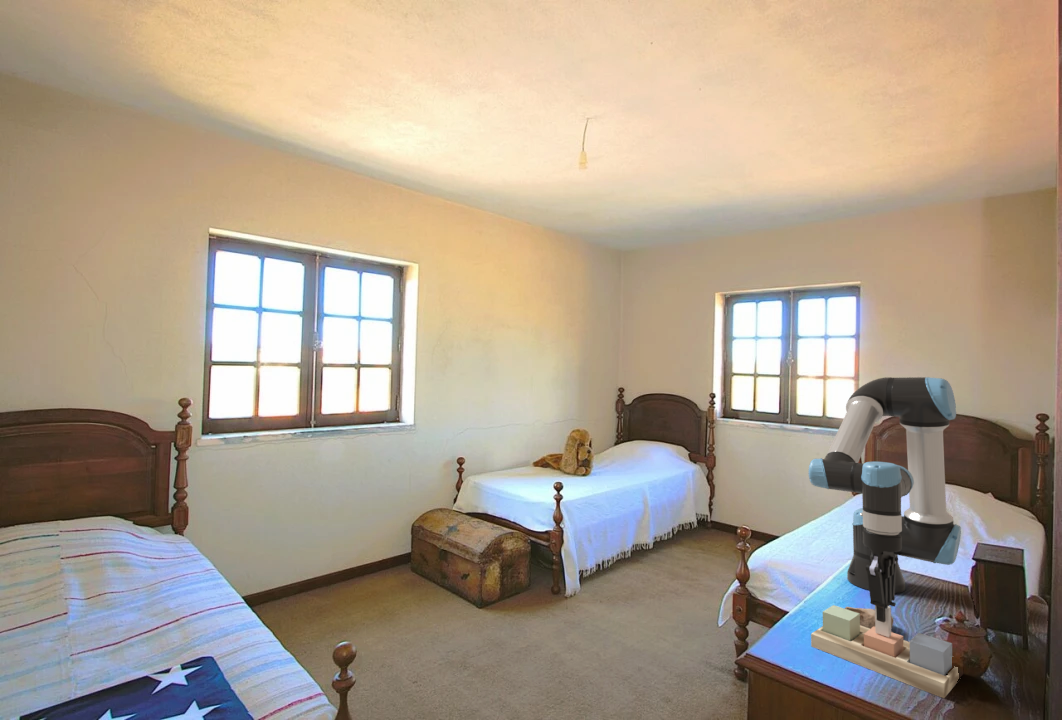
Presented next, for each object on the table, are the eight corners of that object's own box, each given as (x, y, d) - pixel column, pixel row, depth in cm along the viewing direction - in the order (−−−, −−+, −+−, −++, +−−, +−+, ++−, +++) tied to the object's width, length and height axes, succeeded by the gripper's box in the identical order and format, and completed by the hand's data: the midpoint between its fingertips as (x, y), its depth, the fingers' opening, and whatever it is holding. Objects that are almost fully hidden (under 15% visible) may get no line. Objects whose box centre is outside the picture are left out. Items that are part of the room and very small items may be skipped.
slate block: (919, 655, 119) (918, 632, 119) (952, 666, 114) (952, 643, 114) (909, 664, 115) (909, 641, 115) (943, 676, 111) (943, 652, 111)
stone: (883, 640, 131) (882, 619, 131) (837, 620, 141) (837, 602, 141) (903, 632, 135) (903, 612, 135) (858, 614, 145) (857, 595, 146)
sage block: (833, 625, 133) (833, 605, 133) (859, 634, 128) (859, 613, 129) (822, 632, 130) (822, 611, 130) (849, 642, 125) (849, 620, 125)
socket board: (836, 629, 136) (836, 617, 136) (963, 674, 116) (963, 660, 116) (811, 646, 128) (811, 633, 128) (944, 698, 107) (943, 683, 107)
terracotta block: (874, 647, 126) (873, 626, 126) (903, 658, 121) (903, 636, 122) (864, 655, 122) (863, 633, 123) (894, 667, 118) (893, 644, 118)
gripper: (874, 522, 130) (875, 620, 129) (852, 531, 121) (853, 636, 121) (910, 529, 124) (912, 631, 123) (890, 539, 116) (891, 649, 115)
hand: (883, 634), depth 122 cm, fingers closed
